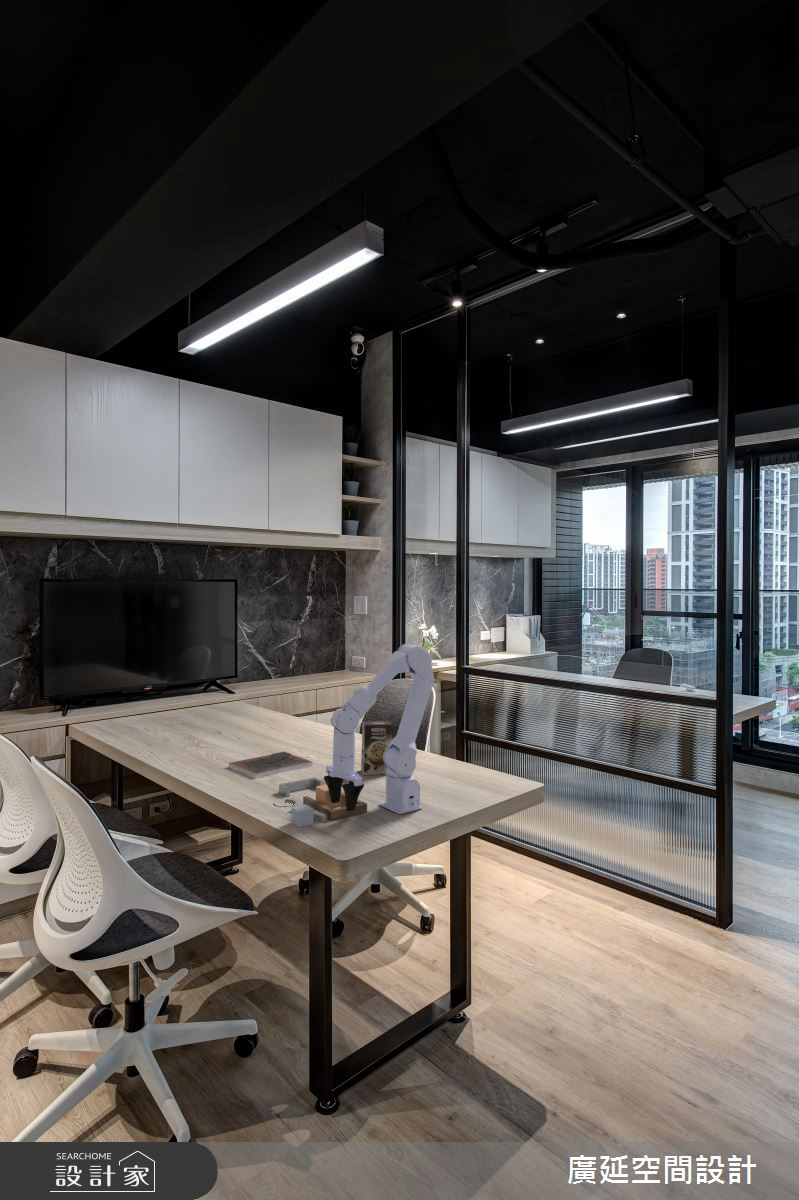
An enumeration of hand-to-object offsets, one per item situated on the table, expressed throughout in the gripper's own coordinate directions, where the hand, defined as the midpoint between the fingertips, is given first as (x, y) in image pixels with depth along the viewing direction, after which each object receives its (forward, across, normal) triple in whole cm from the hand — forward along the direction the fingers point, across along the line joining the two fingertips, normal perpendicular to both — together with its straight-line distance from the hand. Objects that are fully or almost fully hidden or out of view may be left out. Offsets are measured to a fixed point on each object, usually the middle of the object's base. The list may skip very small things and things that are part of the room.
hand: (343, 806), depth 172 cm
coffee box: (+2, -26, +29) cm, 39 cm away
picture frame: (+3, -50, +4) cm, 51 cm away
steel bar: (+2, -3, -8) cm, 9 cm away
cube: (+2, -8, 0) cm, 8 cm away
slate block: (+2, 0, -12) cm, 13 cm away
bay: (+2, -4, 0) cm, 5 cm away
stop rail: (+2, -23, 0) cm, 23 cm away
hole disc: (+2, -16, -9) cm, 18 cm away
